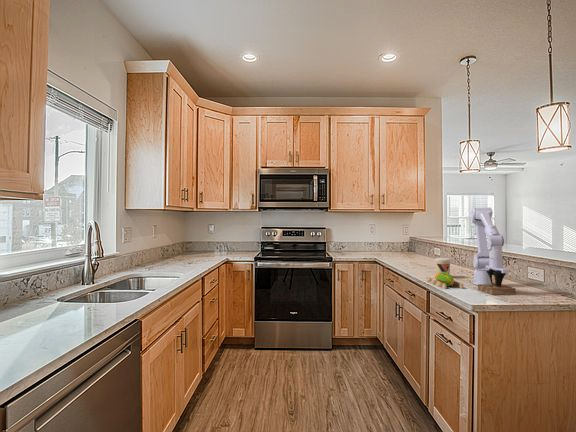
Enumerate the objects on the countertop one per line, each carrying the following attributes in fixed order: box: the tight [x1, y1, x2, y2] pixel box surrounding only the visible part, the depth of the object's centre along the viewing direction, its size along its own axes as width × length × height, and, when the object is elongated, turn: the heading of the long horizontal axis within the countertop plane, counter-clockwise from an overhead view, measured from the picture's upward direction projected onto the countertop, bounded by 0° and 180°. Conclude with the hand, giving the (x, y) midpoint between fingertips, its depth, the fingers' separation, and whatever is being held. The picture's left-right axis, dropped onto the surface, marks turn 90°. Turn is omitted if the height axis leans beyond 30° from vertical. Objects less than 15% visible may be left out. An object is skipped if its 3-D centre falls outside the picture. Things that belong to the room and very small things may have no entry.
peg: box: [492, 275, 499, 287], centre depth 175 cm, size 3×3×7 cm
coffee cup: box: [434, 257, 451, 275], centre depth 219 cm, size 9×9×12 cm
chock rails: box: [426, 276, 464, 290], centre depth 196 cm, size 23×10×2 cm, turn 1°
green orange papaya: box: [434, 272, 455, 287], centre depth 196 cm, size 7×8×20 cm
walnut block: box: [477, 284, 517, 296], centre depth 175 cm, size 12×12×3 cm
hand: (496, 285), depth 175 cm, fingers closed on peg, 3 cm apart
